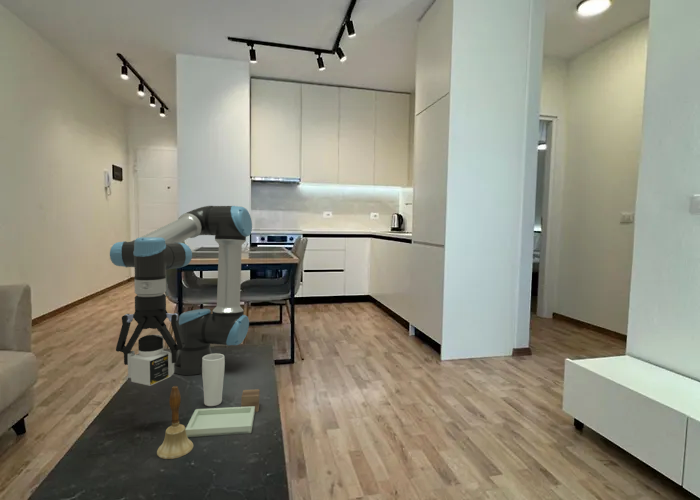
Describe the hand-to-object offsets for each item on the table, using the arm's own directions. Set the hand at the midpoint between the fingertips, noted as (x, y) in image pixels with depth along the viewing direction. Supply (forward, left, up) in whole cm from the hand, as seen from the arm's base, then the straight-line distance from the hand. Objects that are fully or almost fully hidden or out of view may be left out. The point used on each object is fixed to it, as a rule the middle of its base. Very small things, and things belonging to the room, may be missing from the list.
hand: (151, 374), depth 104 cm
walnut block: (-9, +26, -15) cm, 31 cm away
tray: (0, +19, -15) cm, 24 cm away
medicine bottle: (0, 0, -1) cm, 1 cm away
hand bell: (+12, +9, -15) cm, 21 cm away
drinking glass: (-14, +14, -15) cm, 24 cm away
